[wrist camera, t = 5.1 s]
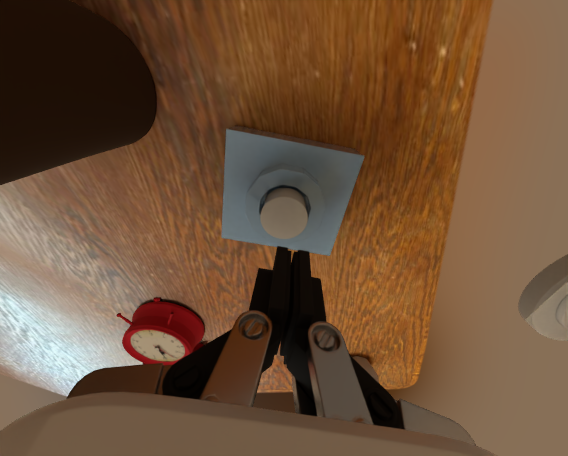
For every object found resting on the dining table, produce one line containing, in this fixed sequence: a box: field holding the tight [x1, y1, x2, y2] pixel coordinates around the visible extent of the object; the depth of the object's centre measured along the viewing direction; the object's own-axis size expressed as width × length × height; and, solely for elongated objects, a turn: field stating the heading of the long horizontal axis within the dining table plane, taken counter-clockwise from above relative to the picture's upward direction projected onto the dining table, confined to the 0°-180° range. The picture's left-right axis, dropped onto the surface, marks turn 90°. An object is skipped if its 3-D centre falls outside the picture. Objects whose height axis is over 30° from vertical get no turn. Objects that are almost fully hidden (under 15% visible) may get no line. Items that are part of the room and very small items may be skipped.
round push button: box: [260, 187, 308, 239], centre depth 17 cm, size 4×4×2 cm
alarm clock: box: [117, 298, 204, 365], centre depth 32 cm, size 10×6×15 cm
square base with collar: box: [222, 126, 365, 256], centre depth 20 cm, size 11×10×5 cm
